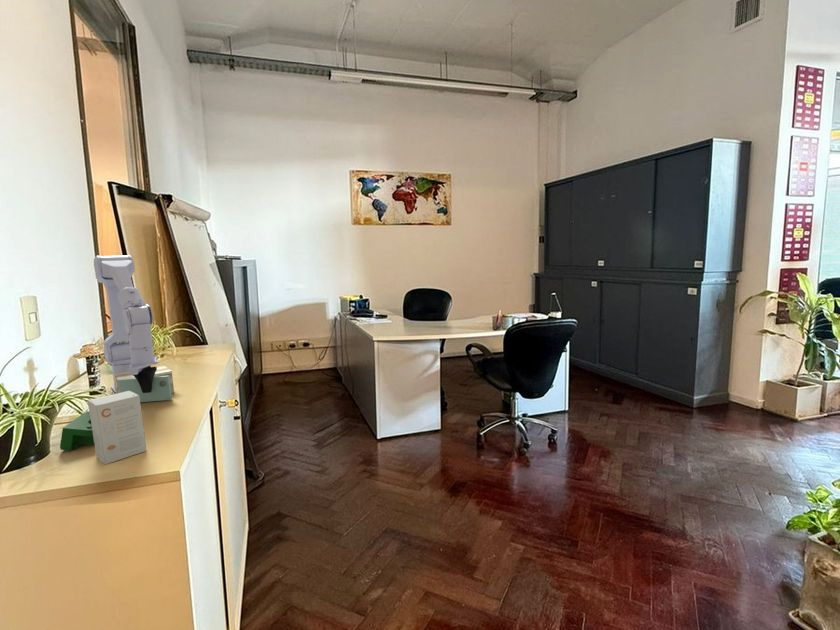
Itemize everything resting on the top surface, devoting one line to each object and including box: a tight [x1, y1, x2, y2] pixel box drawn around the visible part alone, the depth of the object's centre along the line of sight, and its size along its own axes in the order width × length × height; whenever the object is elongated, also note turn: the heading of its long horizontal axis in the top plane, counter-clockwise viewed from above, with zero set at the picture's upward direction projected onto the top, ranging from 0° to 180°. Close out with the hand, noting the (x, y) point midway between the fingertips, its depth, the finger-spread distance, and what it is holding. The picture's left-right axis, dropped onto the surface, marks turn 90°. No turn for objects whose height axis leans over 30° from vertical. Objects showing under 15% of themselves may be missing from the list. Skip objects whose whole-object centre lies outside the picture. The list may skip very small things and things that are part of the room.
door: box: [118, 375, 173, 403], centre depth 132 cm, size 2×14×7 cm, turn 100°
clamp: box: [59, 410, 95, 451], centre depth 105 cm, size 12×6×9 cm, turn 9°
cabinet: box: [114, 365, 175, 394], centre depth 140 cm, size 10×14×7 cm
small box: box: [87, 391, 147, 465], centre depth 97 cm, size 8×6×13 cm
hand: (147, 392), depth 131 cm, fingers closed
